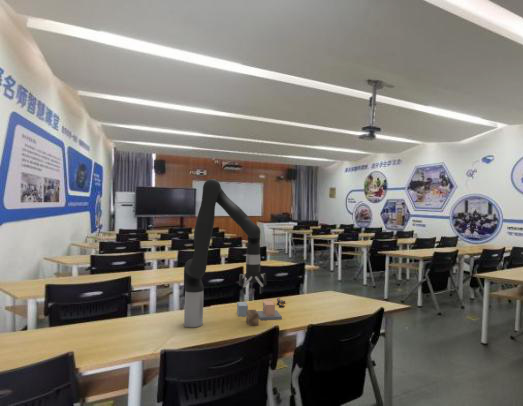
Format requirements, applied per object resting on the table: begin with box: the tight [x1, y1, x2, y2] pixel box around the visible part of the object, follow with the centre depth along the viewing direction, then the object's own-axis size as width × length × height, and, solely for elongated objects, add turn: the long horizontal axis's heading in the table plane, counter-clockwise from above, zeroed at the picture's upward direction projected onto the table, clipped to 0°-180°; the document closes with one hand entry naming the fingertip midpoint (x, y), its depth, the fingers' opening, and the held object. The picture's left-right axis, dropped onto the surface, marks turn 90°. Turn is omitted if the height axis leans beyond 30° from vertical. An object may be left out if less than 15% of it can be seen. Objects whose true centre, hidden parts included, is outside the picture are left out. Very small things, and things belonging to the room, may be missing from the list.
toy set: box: [271, 297, 286, 309], centre depth 207 cm, size 12×11×5 cm
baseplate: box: [256, 300, 283, 321], centre depth 184 cm, size 12×12×8 cm
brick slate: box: [236, 301, 249, 318], centre depth 188 cm, size 5×8×6 cm, turn 11°
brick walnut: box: [245, 309, 259, 327], centre depth 173 cm, size 5×8×6 cm, turn 11°
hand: (252, 293), depth 173 cm, fingers open, 8 cm apart
